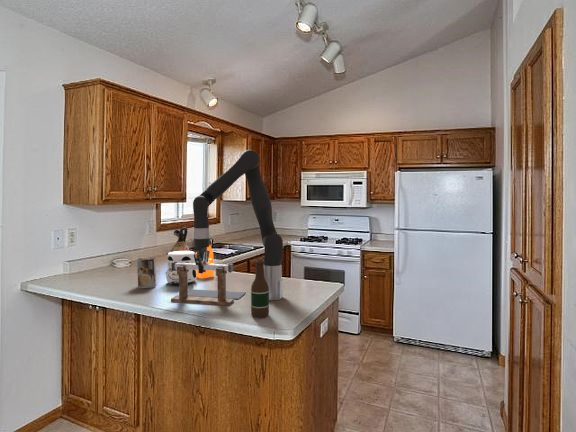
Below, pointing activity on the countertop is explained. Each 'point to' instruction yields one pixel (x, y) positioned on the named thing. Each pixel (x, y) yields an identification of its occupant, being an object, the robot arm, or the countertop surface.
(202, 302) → the walnut rack
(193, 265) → the steel rail
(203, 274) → the orange juice
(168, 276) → the milk container
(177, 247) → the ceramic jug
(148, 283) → the coffee box
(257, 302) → the beer bottle
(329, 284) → the countertop surface
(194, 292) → the grey long flat board
